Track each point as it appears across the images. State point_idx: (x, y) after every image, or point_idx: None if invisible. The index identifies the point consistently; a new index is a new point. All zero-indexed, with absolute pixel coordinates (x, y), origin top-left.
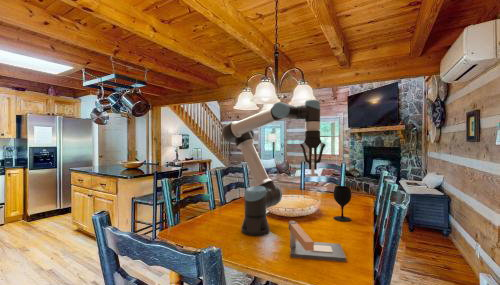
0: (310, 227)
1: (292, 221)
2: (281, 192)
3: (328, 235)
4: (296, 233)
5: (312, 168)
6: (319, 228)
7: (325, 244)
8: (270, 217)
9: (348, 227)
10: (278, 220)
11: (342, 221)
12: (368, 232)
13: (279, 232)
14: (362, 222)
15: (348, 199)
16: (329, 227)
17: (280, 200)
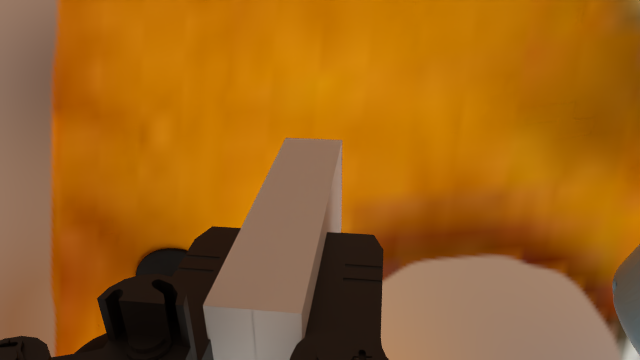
0: (368, 139)
1: None
2: (636, 325)
3: (272, 18)
4: None
5: (294, 223)
6: (315, 129)
7: None
8: (607, 284)
9: (155, 165)
10: (560, 237)
11: (181, 250)
12: (57, 103)
13: (589, 19)
14: (84, 246)
15: (86, 344)
16: (257, 153)
17: (617, 271)
